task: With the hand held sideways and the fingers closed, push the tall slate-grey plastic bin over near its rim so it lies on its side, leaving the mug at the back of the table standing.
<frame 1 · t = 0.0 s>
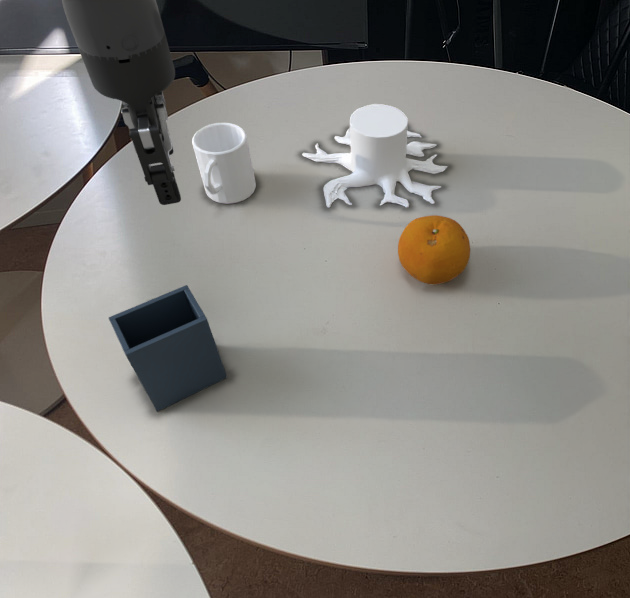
hand: (167, 177, 66), 22 cm above the table, tool pointing down, fingers open, 8 cm apart
bin: (184, 377, 75), on the table
white tree stump: (375, 166, 104), on the table
mug: (227, 196, 98), on the table
fruit: (432, 268, 89), on the table
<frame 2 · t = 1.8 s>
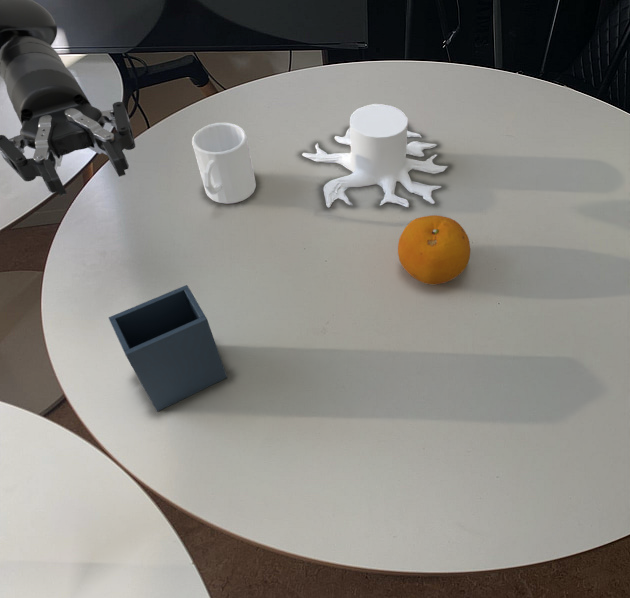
hand: (90, 177, 61), 25 cm above the table, tool horizontal, fingers open, 5 cm apart
nothing on the table moved.
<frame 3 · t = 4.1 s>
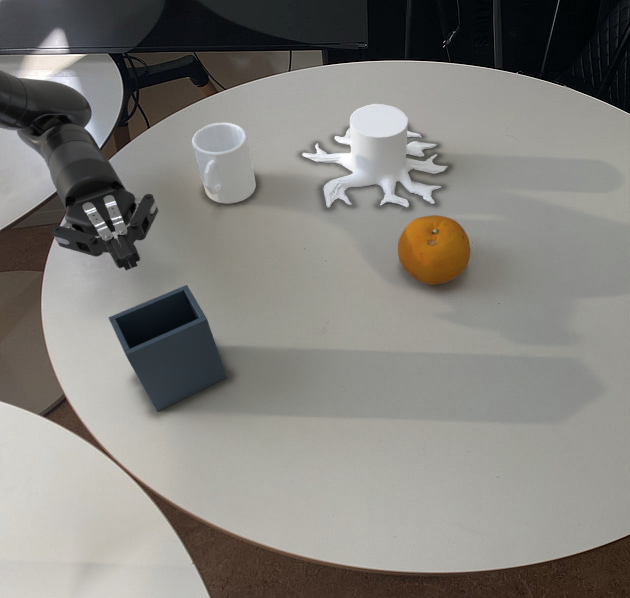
hand: (129, 263, 70), 13 cm above the table, tool horizontal, fingers closed
nothing on the table moved.
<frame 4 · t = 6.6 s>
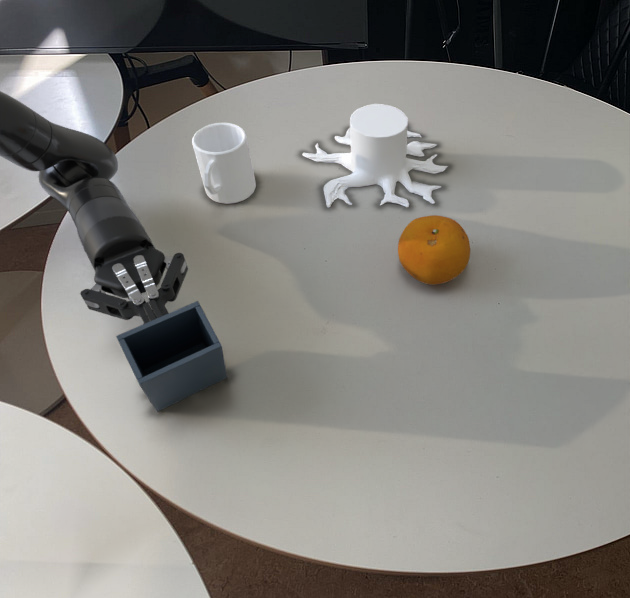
hand: (162, 328, 68), 10 cm above the table, tool horizontal, fingers closed
bin: (182, 373, 75), point 1 cm above the table, tilted 19°
everything else where it was.
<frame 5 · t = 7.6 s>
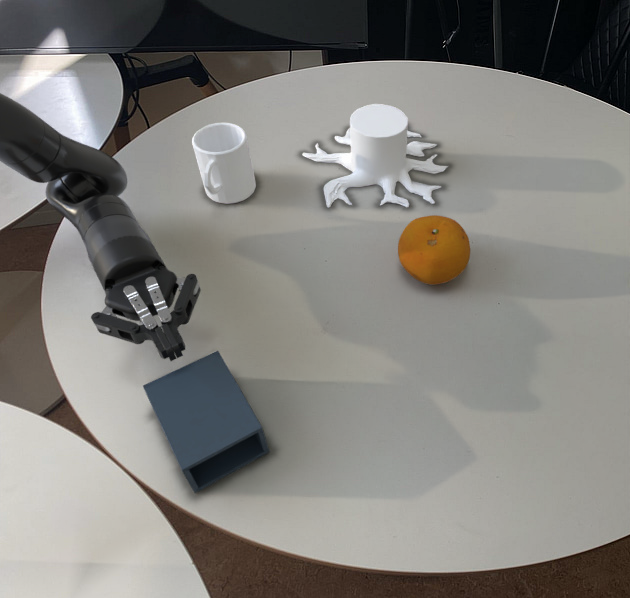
hand: (175, 354, 66), 9 cm above the table, tool horizontal, fingers closed
bin: (187, 381, 71), point 3 cm above the table, tilted 90°
everything else where it was.
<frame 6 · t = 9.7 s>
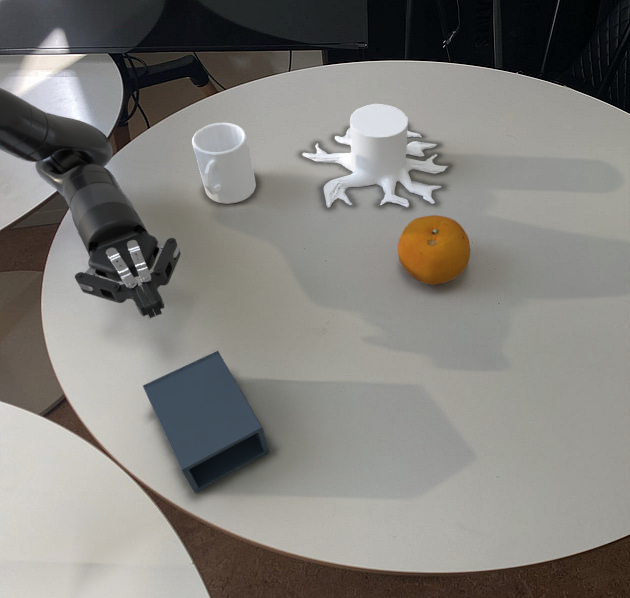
hand: (154, 311, 70), 10 cm above the table, tool horizontal, fingers closed
nothing on the table moved.
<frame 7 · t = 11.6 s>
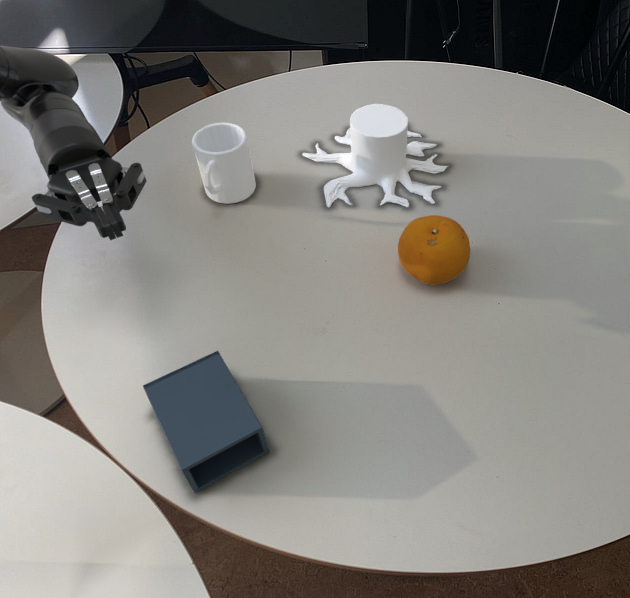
hand: (114, 232, 66), 18 cm above the table, tool horizontal, fingers closed
nothing on the table moved.
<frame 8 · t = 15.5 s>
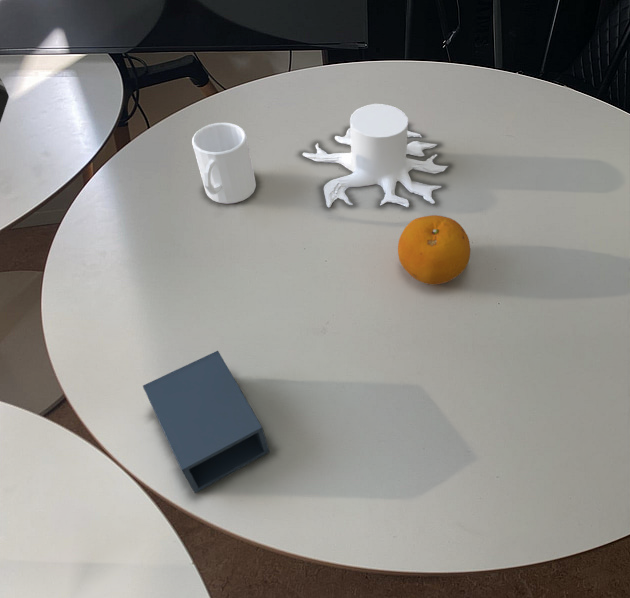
nothing on the table moved.
at the end: bin tilted 90°; bin inside the target area (0.9 cm from its centre), point 3.0 cm above the table; mug tilted 0° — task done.
